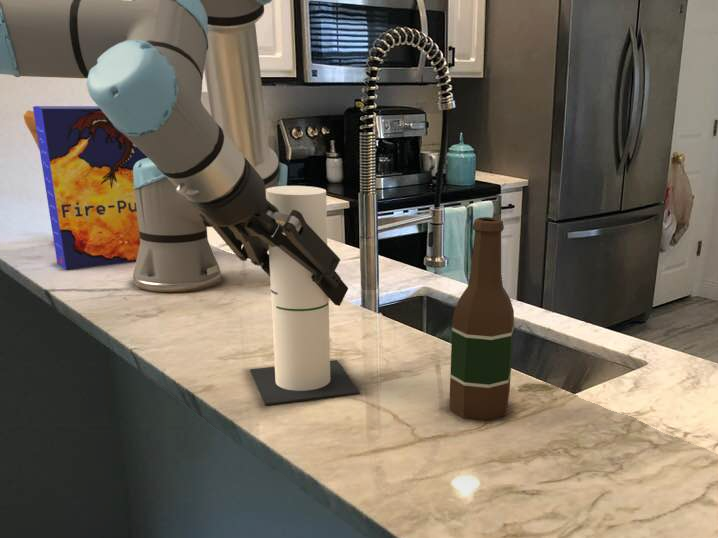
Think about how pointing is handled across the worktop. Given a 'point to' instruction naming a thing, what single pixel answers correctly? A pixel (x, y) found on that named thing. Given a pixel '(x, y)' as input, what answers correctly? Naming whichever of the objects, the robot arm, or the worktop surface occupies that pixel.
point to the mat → (277, 395)
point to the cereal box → (88, 186)
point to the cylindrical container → (299, 299)
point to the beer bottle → (482, 332)
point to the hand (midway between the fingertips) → (317, 291)
